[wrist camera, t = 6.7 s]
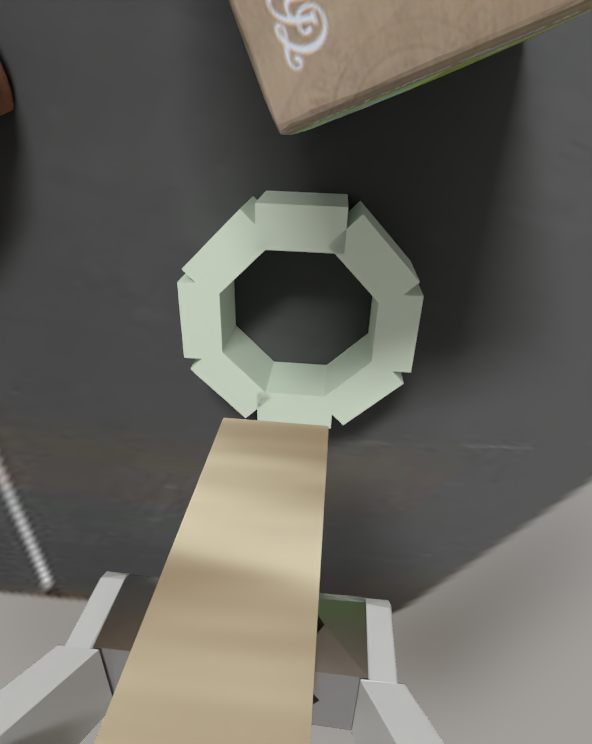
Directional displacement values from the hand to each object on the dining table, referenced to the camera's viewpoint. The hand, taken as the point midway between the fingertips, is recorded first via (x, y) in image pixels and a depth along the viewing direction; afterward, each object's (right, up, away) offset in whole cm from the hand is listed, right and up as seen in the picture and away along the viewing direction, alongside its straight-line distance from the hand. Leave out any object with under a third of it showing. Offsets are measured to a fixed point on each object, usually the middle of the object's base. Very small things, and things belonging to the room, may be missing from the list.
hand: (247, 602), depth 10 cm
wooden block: (0, +2, +4) cm, 5 cm away
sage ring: (+1, +9, +16) cm, 18 cm away
